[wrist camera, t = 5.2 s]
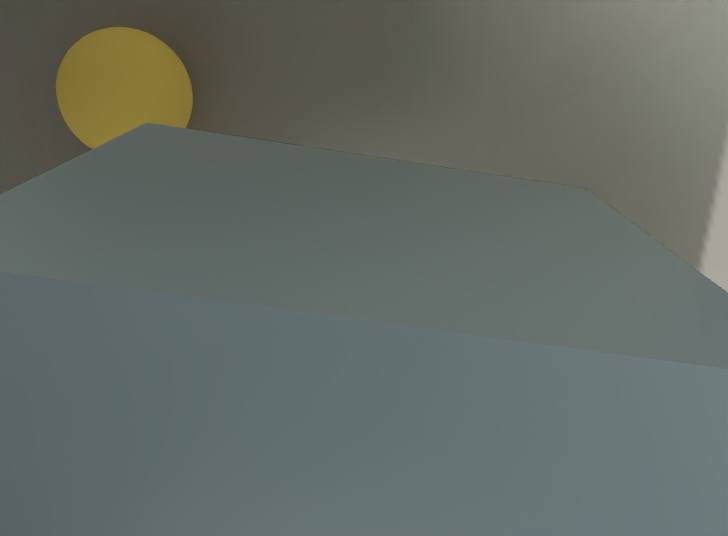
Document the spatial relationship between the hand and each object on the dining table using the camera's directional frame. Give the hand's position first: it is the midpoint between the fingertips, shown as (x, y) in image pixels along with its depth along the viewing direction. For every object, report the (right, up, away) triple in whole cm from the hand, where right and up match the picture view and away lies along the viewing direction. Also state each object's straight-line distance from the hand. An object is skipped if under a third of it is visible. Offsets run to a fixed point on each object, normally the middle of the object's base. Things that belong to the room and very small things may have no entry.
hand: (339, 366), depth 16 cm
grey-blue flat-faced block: (0, 0, +1) cm, 1 cm away
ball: (-9, +9, +9) cm, 16 cm away
